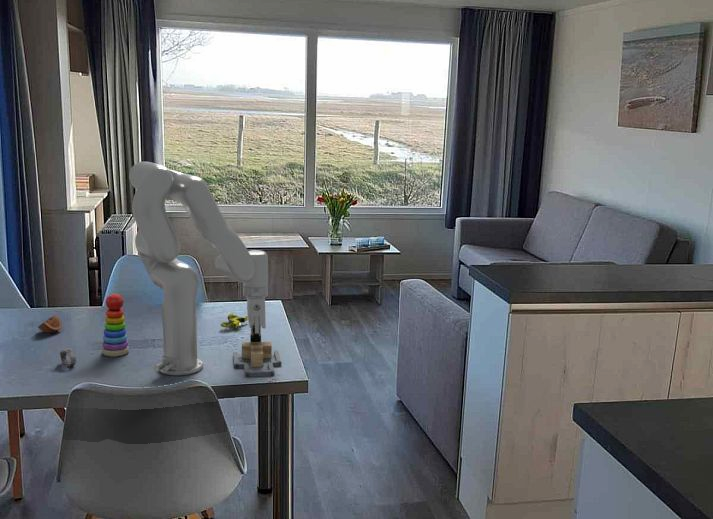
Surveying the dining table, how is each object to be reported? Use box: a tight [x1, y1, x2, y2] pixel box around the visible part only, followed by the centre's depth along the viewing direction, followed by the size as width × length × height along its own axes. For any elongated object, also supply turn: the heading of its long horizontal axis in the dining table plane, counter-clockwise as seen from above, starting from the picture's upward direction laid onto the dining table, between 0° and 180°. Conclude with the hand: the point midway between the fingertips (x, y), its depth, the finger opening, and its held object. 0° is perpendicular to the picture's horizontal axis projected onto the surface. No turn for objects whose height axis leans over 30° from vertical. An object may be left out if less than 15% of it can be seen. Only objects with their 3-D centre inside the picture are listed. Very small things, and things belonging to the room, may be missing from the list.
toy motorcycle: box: [220, 312, 248, 329], centre depth 240 cm, size 12×4×7 cm
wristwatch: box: [59, 347, 77, 367], centre depth 200 cm, size 4×6×5 cm, turn 51°
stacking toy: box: [101, 293, 130, 358], centre depth 209 cm, size 8×8×19 cm
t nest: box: [232, 349, 282, 378], centre depth 205 cm, size 17×14×1 cm
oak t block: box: [241, 341, 273, 368], centre depth 208 cm, size 10×9×4 cm
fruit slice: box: [37, 314, 63, 334], centre depth 227 cm, size 8×7×5 cm
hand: (255, 347), depth 216 cm, fingers closed
